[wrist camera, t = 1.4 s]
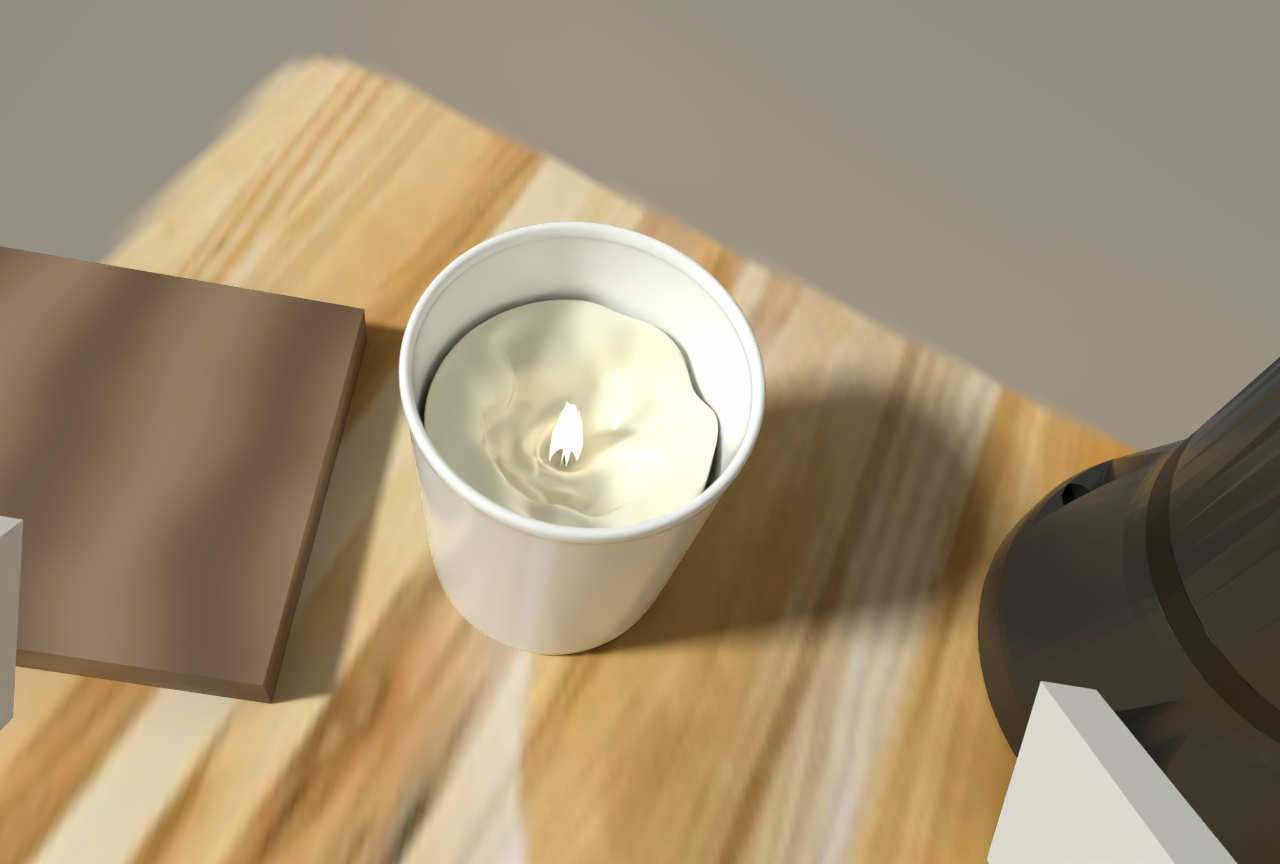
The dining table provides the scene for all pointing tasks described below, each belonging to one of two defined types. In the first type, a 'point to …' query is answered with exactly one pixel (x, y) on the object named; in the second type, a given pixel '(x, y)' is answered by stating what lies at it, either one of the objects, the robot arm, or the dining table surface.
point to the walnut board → (165, 467)
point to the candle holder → (573, 426)
